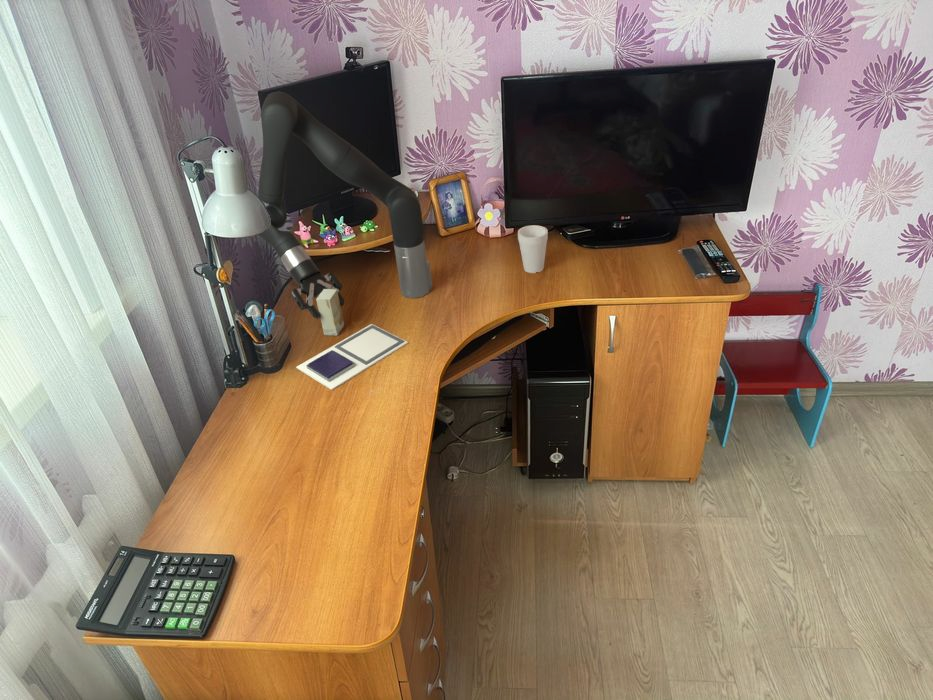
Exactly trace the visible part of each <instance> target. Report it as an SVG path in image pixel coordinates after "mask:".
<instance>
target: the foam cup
mask: <svg viewBox="0 0 933 700" xmlns="http://www.w3.org/2000/svg"><path fill="white" fill-rule="evenodd" d="M548 231H549V230H548V229H547V227H545V226H541V225H538V224H537V225H535V224H533V225H525V226H523V227H521V228H519V229H518V230H517V241H518V244H519V249H520V253H521V259H522V265H523V270H524V271H525V272H527V273H529V274H535V273H536V272H538V273H540V272H542V271H544V267H545V260H546V259H545V258H546V251H547V243H548V236H549V235H548V234H549V233H548ZM536 274H537V273H536Z"/></svg>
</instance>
